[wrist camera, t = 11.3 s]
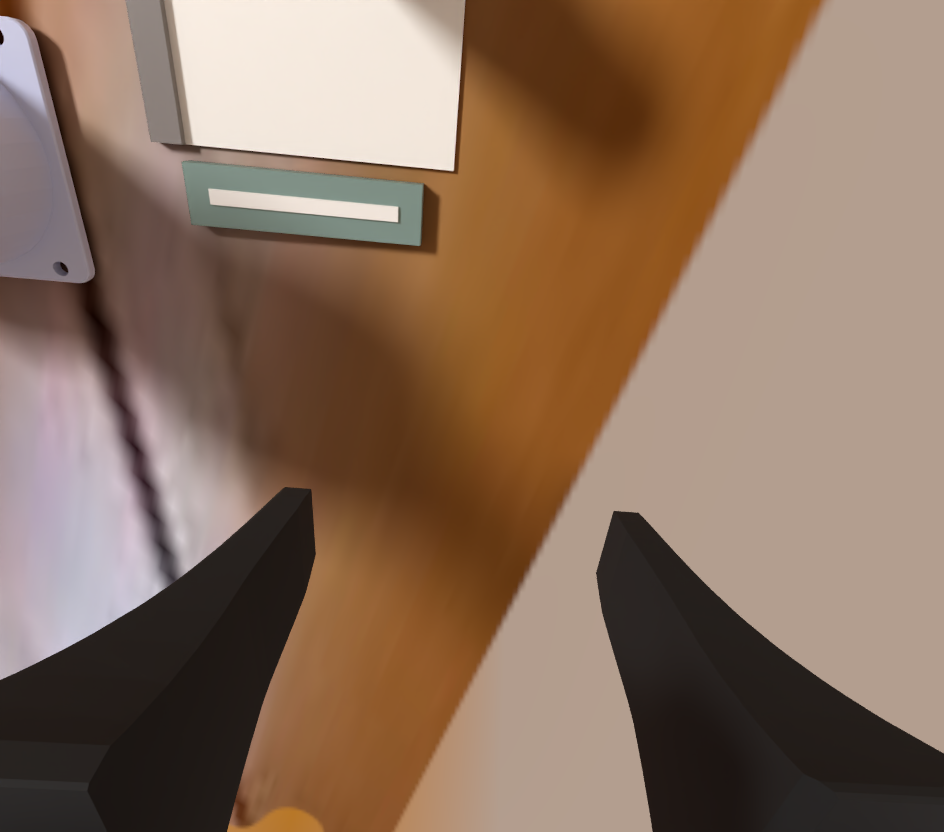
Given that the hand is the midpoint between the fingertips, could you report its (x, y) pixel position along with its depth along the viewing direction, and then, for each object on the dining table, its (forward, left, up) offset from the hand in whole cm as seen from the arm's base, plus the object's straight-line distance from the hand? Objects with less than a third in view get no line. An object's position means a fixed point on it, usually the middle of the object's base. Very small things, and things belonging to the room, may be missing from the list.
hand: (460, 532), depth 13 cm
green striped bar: (-6, +6, -10) cm, 13 cm away
